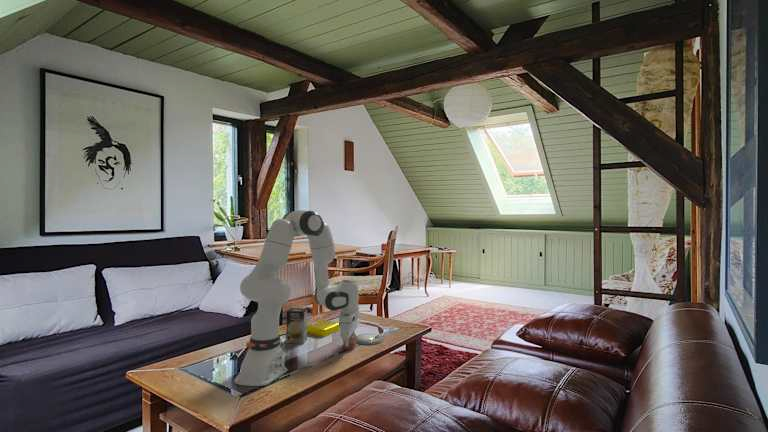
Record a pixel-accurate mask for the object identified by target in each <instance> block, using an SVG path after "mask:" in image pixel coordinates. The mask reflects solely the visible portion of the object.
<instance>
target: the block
mask: <svg viewBox="0 0 768 432" xmlns="http://www.w3.org/2000/svg"><path fill="white" fill-rule="evenodd" d="M356 336H357V334H356V333H354V334H352V335H351V336H350V338H349V346H348V347H347V346H345V341H344V339H342V341H343V342H342V345H343V346H342V347H343V348H342V349H343V350H354V349H355V348H356V345H357V342H356Z"/></svg>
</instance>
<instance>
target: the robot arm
mask: <svg viewBox="0 0 768 432" xmlns="http://www.w3.org/2000/svg"><path fill="white" fill-rule="evenodd" d="M296 236H303V237H304V236H306V238H307V239H308V242H309V243H308V244H309V249H310V254H311V258H312V263H313V270H314V278H315V291H314V300H315V302H316V304H318V305H319V306H321V307H324V308H325V309H328V310H329V311H338V310H340V311H339V313H340V314H339V316H338V323H339V333H340V338H341V340H343V339H344V341H345V346H347V347H348V346H349V338H350V336H351V335H352V334H356V333H355V332H356V330H357V328H358V326H359V325H358V321H359V320H358V319H359V317H360V311H359V310H360V306H359V300H360V293H359V285H358V283H357V282H355V281H354V280H348V279H345V280H341V282H340V283H339V284H337V285H336V286H334V287H333V286H332V285H331V284H330V278H329V270H328V267H329V264H331V263H332V262H333V261H334V259H335V257H336V247H335V242H334V238H333V233H332V231H331V228H330V226H329V224H328V223H327V222H324V221H323V218H322V216H321V215H320V214H319V213H318V212H316V211H314V210H301V209H300V210H292V211H289V212H288V213H285V215H283V217H282V218H277V219H275V220H274V221H273V222H272V223H271V226H270V228H269V229H268V232H267V234H266V237H265V241H264V243H263V247H262V251H261V253H260V255H259V258H258V261H257V263H256V264H255V266H254V268H253V269H252V271H251V272H250V273H249V274H248V275H247V276H245V277H244V278H243V279H242V281H241V282H240V285H239V286H240V288H239V290H240V293H241V295H242V296H243V297H244V298H246V299H248V300H250V301H253V302H256V303H257V310H256V313H255V314H254V315H253V316H252V317H251V320H250V325H251V326H250V329H251V330H250V332H251V333H250V338H249V342H248V341H247V342H246V345H245V347H246V348H248V351H247V352H246V354H245V356H244V358H243V360H242V363H241V364H240V371H239V373H238V374H237V375H236V377H235V378H234V379H233V383H234V384H236V385H239V386H247V387H263V386H268V385H269V384H271V383H273V381H275V380H277V379H278V378H279V377H281V376H282V375H284V374H285V373H287V372H288V367H286V366H285V357H284V350H283V348H281V345H280V344H281V335H280V315H281V311H282V309H283V307H284V305H285V304H286V303H287V302H288V301H289V299H290V297H291V292H292V291H291V286H290V285H289V284H288V282H286V281H284V280H283V279H280V278H279V277H278V278H277V277H276V276H277V274H278V273H279V272H280V271H281V270H282V269H284V268H285V267H286V266H287V263H288V260H289V256H290V253H291V249H292V245H293V242H294V241H293V240H294V239H295V237H296Z"/></svg>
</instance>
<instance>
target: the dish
mask: <svg viewBox="0 0 768 432" xmlns="http://www.w3.org/2000/svg"><path fill="white" fill-rule="evenodd" d="M376 335H379V336H381V335H380V334H376ZM376 335H375V333H362V334H358V335H356V344H360V345H364V346H366V345H367V346H373V345H378V344H381V343H382V342H383V340H384V339H381V338H380V339H379V340H378V341H374V342H372V343H371V342H370V343H369V341H372V340H373V339H375V336H376ZM380 340H381V341H380ZM367 341H368V342H367Z"/></svg>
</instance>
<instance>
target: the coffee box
mask: <svg viewBox="0 0 768 432" xmlns="http://www.w3.org/2000/svg"><path fill="white" fill-rule="evenodd" d="M307 323H308V308H302V307H301V308H298V307H289V308H288V309H287V310H286V335H285V336H286V337H285V338H286V340H285V341H286V344H301V345H304V344H305V343H306V342H307V340H308V334H307Z"/></svg>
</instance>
